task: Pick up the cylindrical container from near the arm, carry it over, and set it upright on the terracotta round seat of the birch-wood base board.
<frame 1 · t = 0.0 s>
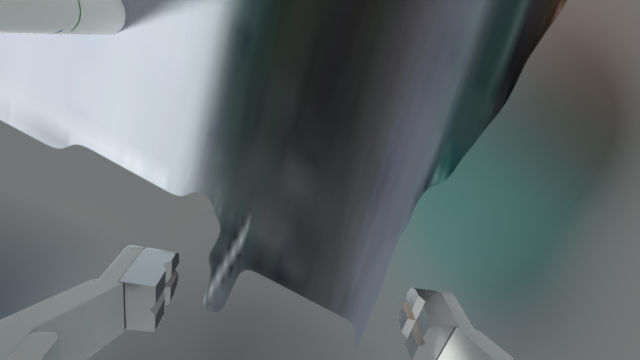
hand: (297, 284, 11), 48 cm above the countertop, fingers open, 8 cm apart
cylindrical container: (102, 10, 48), on the countertop
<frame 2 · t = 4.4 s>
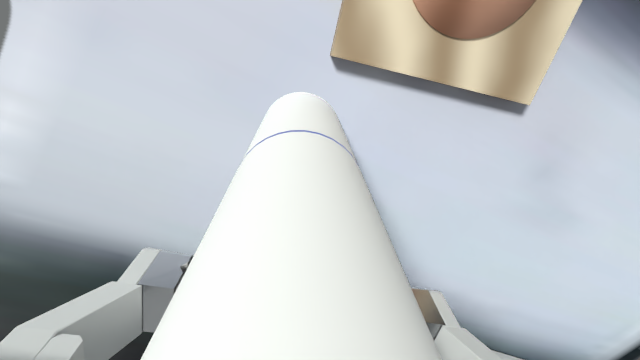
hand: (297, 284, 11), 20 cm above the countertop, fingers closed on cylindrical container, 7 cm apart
cylindrical container: (301, 130, 29), on the countertop, touching gripper
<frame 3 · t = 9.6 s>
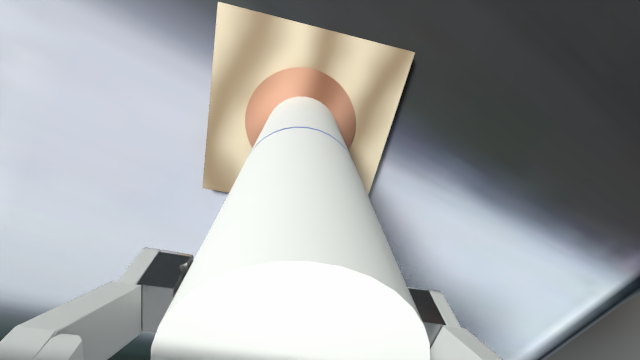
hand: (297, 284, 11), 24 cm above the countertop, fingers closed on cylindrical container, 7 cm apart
seat board: (300, 121, 32), on the countertop
cylindrical container: (301, 132, 31), point 2 cm above the countertop, touching gripper, seat board
when the fingers open (23 cm above the countertop, at t = 10.9 s): cylindrical container stays where it is, resting on seat board.
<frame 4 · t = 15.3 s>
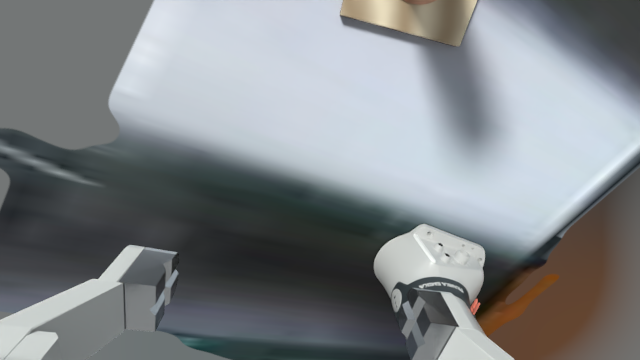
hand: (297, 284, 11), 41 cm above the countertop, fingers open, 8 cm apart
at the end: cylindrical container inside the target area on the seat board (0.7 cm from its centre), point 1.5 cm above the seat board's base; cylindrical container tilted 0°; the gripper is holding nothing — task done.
